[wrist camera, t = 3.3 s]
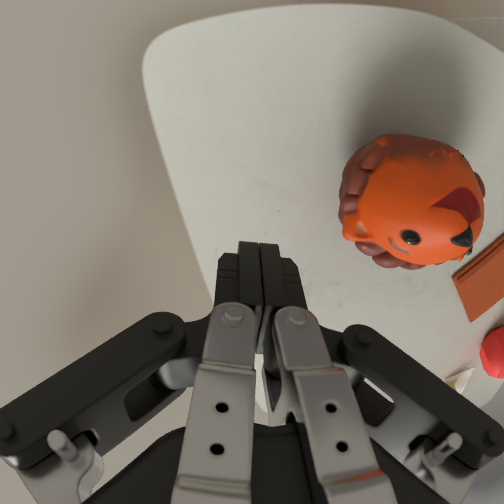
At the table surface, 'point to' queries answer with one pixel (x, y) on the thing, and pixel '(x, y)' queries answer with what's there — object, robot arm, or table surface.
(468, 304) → the book
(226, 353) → the robot arm
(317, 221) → the table surface
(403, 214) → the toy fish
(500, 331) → the apple
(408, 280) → the table surface
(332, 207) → the table surface
